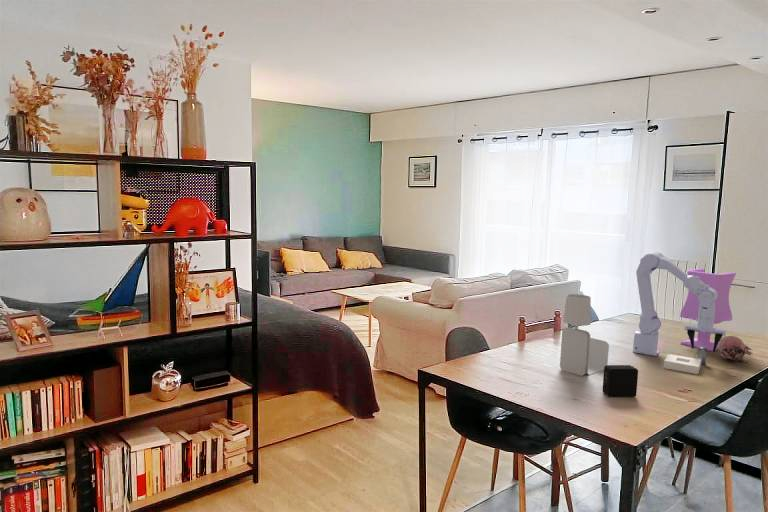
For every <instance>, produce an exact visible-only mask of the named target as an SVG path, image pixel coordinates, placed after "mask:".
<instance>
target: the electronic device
mask: <svg viewBox="0 0 768 512" xmlns="http://www.w3.org/2000/svg"><path fill="white" fill-rule="evenodd" d="M602 377H603V378H602V393H603V394H604V395H606V396H607V397H609V398H636V396H637V393H638V392H637V390H638V380H639V379H638V378H639V370H638V368H637V367H634V366H632V365H630V364H625V365H624V364H621V365H620V364H618V365H617V364H616V365H615V364H612V365H611V364H610V365H609V364H607V365H606V366H605V367H604V370H603V376H602Z"/></svg>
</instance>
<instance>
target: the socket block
mask: <svg viewBox="0 0 768 512" xmlns="http://www.w3.org/2000/svg"><path fill="white" fill-rule="evenodd" d="M701 367H702V365H701V359H698V358H696V357H695V358H694V357H691V356H690V357H688V356H683V355H677V354H671V353H668V354H667V356H666V357H665V359H664V360H663V368H664V369H667V370H668V369H669V370H673V371H678V372H684V373H690V374H694V375H695V374H696V375H699V373H700V370H701Z"/></svg>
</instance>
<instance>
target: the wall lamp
mask: <svg viewBox="0 0 768 512" xmlns="http://www.w3.org/2000/svg"><path fill="white" fill-rule="evenodd" d="M565 298H566V299H565V305H564V312H563V313H564V314H563V320H562V321H563V323H565V324H567V325H571V326H572V325H573V326H574V327H571V326H568V327H565V328H563V329H562V331H561V345H560V357H559V367H560V370H561V371H562V372H567V373H570V374H573V375H578V376H580V377H581V376H584V375H588V376H591V375H593V374H596V373H599V372H601V371H604V367H605V366H606V365H609V364H608V363H609V352H610V351H609V349H610V348H609V347H610V346H609V342H607V341H606V340H603V339H597V338H592V337H591V334H590V332H589V331H587V330H584V329H579V326H585V327H586V326H590V325H591V324H592V322H591V318H592V317H591V315H592V313H591V311H592V310H591V303H592V302H591V296H590V295H585V294H581V293H580V294H578V293H575V294H573V293H572V294H571V293H569V294H566V297H565Z"/></svg>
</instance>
